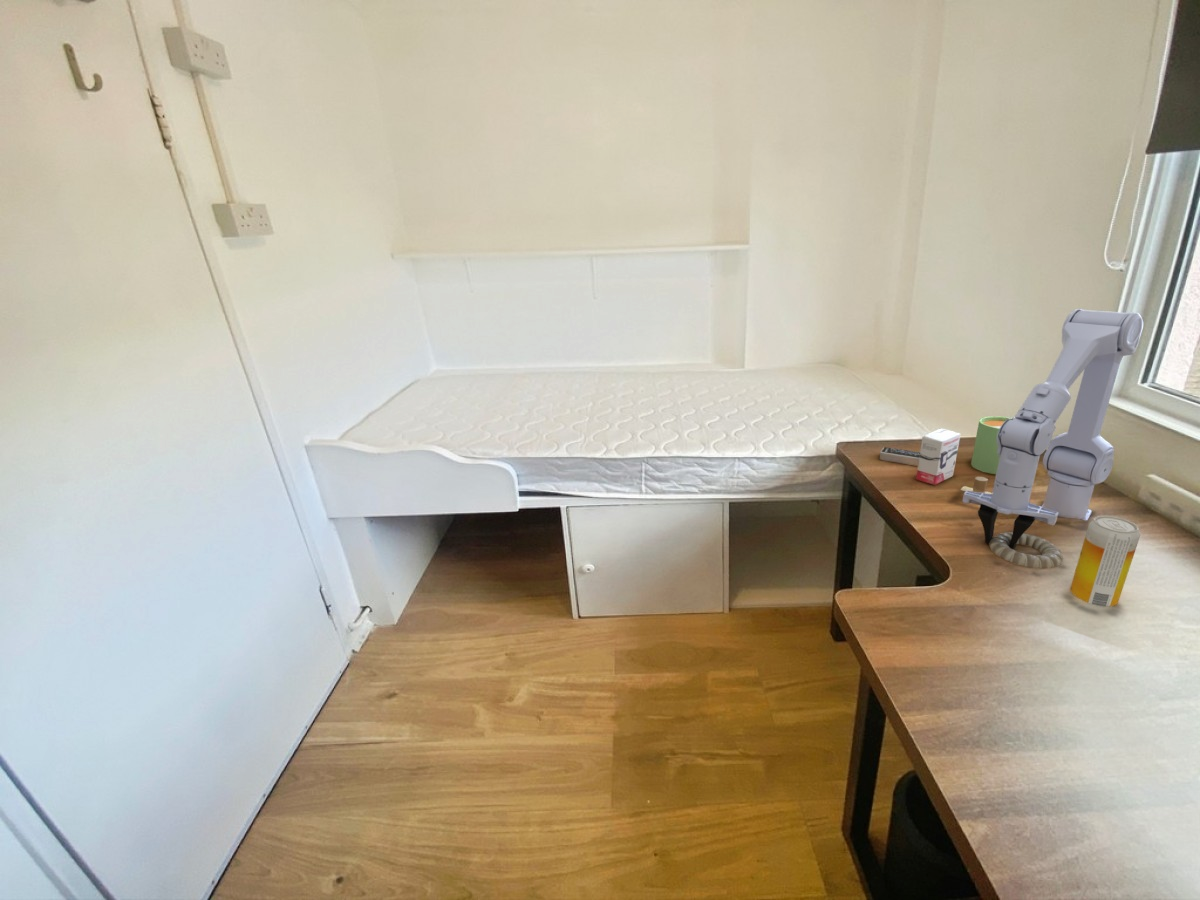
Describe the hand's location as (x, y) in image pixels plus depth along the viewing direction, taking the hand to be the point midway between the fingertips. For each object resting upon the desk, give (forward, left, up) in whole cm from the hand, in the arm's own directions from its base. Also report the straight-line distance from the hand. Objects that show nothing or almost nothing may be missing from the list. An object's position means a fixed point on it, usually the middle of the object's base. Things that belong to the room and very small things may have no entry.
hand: (999, 544), depth 107 cm
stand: (-20, -9, -1) cm, 22 cm away
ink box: (-27, -20, -2) cm, 34 cm away
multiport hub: (-34, -30, -2) cm, 45 cm away
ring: (0, +4, 0) cm, 4 cm away
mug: (-44, -12, -2) cm, 46 cm away
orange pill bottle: (+8, +15, -2) cm, 17 cm away
